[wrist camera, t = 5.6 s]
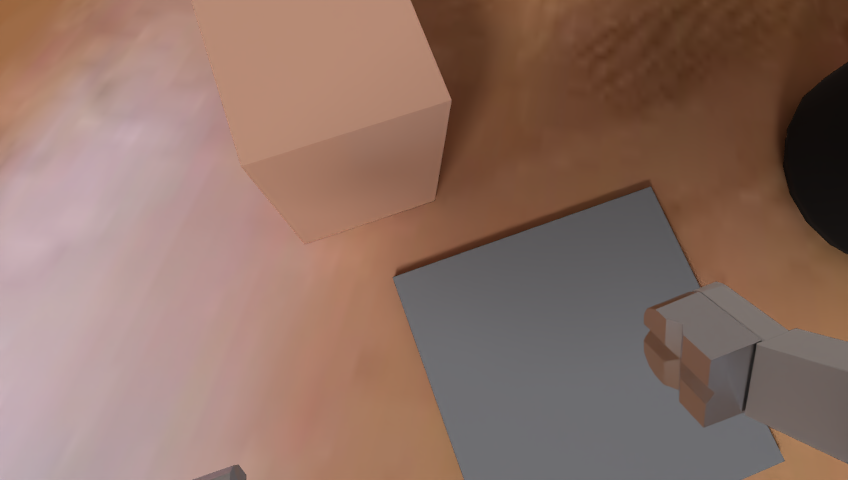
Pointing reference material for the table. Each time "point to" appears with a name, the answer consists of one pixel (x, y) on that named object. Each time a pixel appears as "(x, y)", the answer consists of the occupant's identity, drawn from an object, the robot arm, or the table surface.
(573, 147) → the table surface
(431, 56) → the cover
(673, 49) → the table surface
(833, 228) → the coffee jar
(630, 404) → the pad
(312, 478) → the table surface
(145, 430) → the table surface
